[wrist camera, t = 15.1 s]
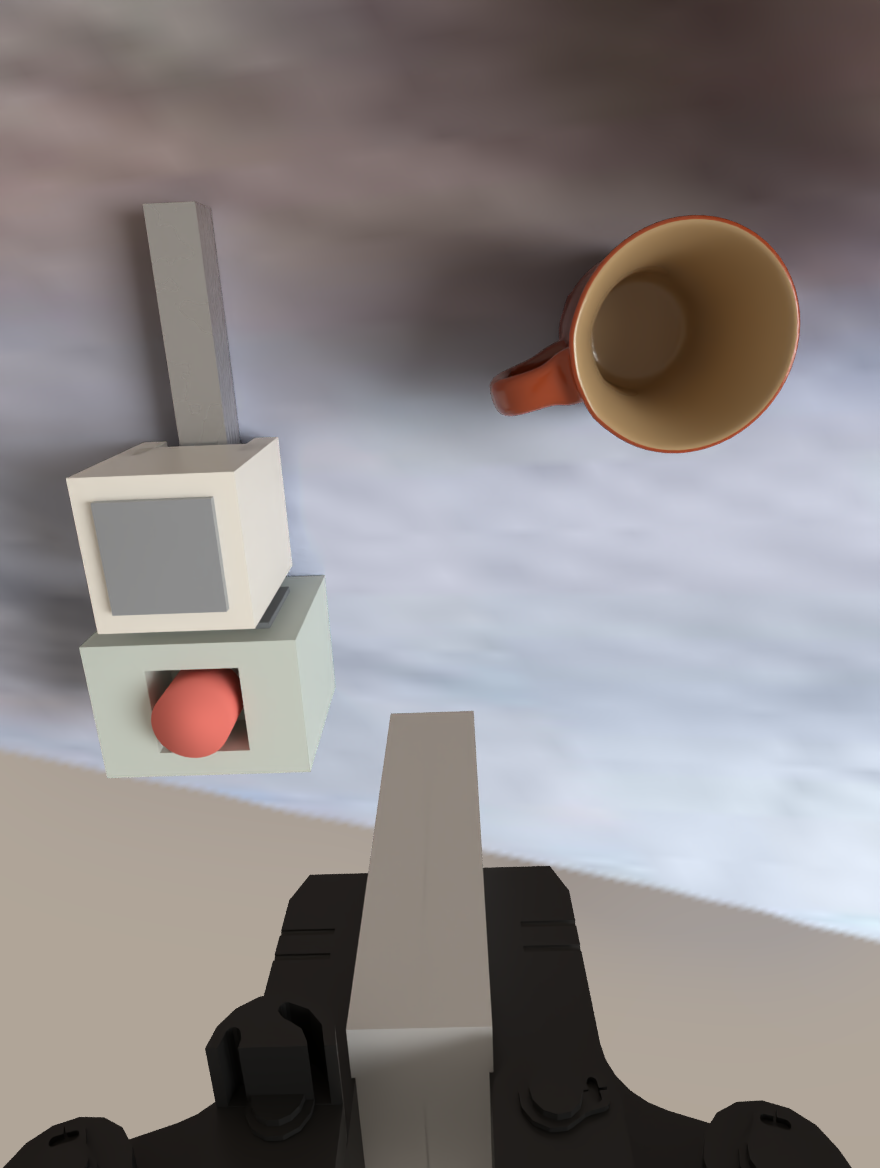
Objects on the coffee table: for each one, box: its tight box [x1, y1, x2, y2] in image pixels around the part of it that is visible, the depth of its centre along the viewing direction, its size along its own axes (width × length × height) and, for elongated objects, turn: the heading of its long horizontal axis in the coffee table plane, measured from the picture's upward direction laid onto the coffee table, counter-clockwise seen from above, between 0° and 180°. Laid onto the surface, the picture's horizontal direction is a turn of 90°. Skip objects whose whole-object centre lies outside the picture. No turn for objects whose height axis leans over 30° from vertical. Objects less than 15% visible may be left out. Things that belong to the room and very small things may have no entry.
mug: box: [490, 215, 800, 453], centre depth 35 cm, size 12×9×10 cm
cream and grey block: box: [66, 437, 292, 634], centre depth 38 cm, size 7×7×9 cm
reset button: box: [151, 668, 244, 758], centre depth 38 cm, size 4×4×3 cm
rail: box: [143, 202, 241, 446], centre depth 40 cm, size 20×2×2 cm, turn 2°
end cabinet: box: [79, 575, 336, 778], centre depth 41 cm, size 7×10×9 cm
